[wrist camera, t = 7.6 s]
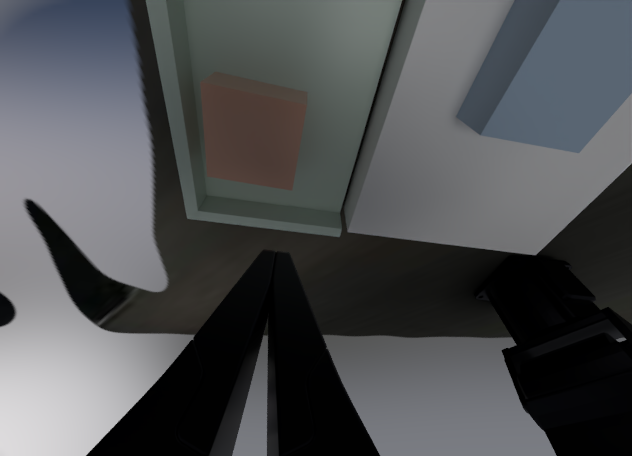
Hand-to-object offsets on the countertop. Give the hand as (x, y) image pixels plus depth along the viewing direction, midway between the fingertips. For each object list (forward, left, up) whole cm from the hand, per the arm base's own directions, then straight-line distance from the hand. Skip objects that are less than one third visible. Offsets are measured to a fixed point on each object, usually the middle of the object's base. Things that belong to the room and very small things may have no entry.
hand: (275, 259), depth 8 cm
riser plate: (+2, -12, -11) cm, 16 cm away
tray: (+2, +1, -11) cm, 11 cm away
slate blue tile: (+6, -11, -8) cm, 14 cm away
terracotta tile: (0, +2, -8) cm, 8 cm away
